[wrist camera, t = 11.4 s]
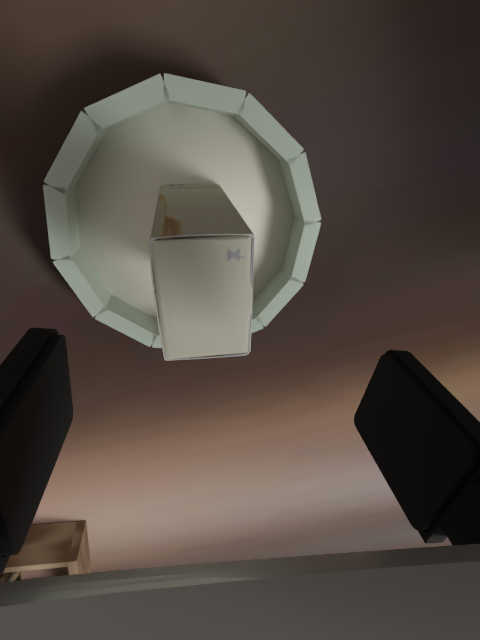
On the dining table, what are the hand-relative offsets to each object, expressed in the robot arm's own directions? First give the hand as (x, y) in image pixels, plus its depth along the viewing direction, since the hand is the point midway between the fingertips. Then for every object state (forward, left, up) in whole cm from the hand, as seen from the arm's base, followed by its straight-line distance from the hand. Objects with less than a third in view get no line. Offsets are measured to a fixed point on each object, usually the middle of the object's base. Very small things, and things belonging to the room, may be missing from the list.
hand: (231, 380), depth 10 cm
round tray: (+1, 0, -19) cm, 18 cm away
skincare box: (0, 0, -18) cm, 18 cm away
